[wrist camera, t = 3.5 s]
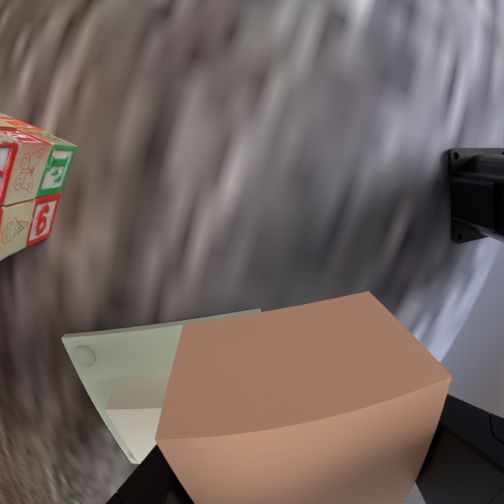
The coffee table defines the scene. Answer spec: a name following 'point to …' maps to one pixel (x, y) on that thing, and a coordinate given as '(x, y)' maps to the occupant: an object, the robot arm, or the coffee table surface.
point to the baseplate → (126, 358)
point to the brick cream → (138, 410)
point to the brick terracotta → (301, 406)
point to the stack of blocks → (29, 183)
